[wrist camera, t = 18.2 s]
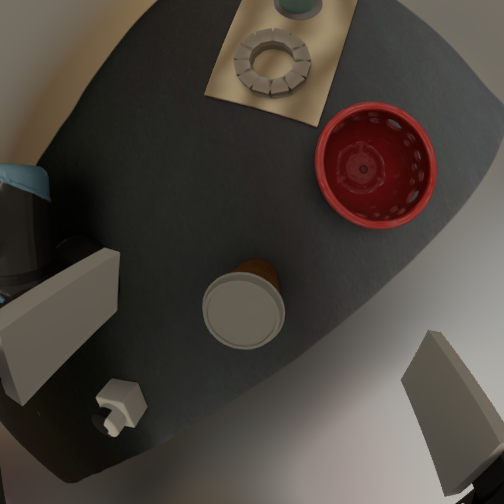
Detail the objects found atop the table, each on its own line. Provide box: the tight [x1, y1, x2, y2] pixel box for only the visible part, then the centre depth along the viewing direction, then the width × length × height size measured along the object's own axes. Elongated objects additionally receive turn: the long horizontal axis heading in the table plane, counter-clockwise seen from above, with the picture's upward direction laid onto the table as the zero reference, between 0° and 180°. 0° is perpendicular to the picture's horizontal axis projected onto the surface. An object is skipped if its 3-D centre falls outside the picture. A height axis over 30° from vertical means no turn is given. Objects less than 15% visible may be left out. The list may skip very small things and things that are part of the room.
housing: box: [204, 0, 357, 128], centre depth 32 cm, size 16×24×4 cm, turn 162°
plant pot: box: [314, 102, 437, 229], centre depth 32 cm, size 13×13×12 cm
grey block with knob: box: [92, 378, 147, 437], centre depth 50 cm, size 7×7×12 cm
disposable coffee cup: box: [202, 259, 285, 349], centre depth 38 cm, size 10×10×12 cm
